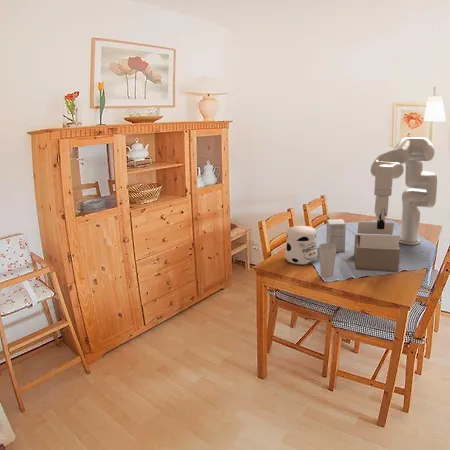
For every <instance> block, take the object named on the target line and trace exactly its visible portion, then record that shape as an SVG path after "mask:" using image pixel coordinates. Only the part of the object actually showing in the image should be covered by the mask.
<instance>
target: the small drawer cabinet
mask: <svg viewBox="0 0 450 450" xmlns="http://www.w3.org/2000/svg"><path fill="white" fill-rule="evenodd" d="M346 225H347V224H346V222H345V220H344V219H343V218H339V219H338V218H336V219H326V243H331V244H334V245H336V246H337V250H336V253H337V252H338V253H339V252H340V253H341V252H343V253H344V252H346V230H347V228H346Z"/></svg>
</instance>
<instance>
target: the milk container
mask: <svg viewBox="0 0 450 450" xmlns="http://www.w3.org/2000/svg"><path fill="white" fill-rule="evenodd" d="M318 252H319V251H318V248H317V231H316V229H315V228H314V227H312V226H308V225H296V226H295V225H294V226H291V227H288V228H287V229H286V247H285V249H284V257H285V259H286V261H287V262H288V263H289V264H293V265H296V266H306V265H312V264H313V263H315V262H316V261H317V259H318V254H319V253H318Z"/></svg>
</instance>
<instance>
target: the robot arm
mask: <svg viewBox="0 0 450 450" xmlns="http://www.w3.org/2000/svg"><path fill="white" fill-rule="evenodd" d="M434 157H435V147H434V145H433V143H432V142H431V141H430V140H429V139H428V138H426V137H413V136H412V137H410V136H409V137H404V138H402V139H400V141H398V143H397V144H396V146H395V147H394V148H393V149H392V150H389V151H386V152H384V153H382V154H379V155H378V156H377V157H376V158H375V159H374V160H373V162H372V164H371V166H370V174H371V176H373V177H374V191H373V193H374V194H373V195H374V196H375V204H374V214H375V215H374V216H376V217H377V220H376V222H377V229H384V225H385V222H386V221H385V220H386V217H387V216H388V212H389V201H390V200H389V199H390V198H389V197H390V196H392V194H393V180H394V179H398V178H399V179H400V177H402V175H403V173H404V170H405V174H404V175H405V177H404V179H405V181H404V182H405V186H406V187H407V188H409V189H405V190H404V191H402V194H401V201H402V202H401V203H402V213H401V225H400V234H399V236H400V240H399V243H400V244H403V245H410V246H411V245H412V246H414V245H419V244H421V239H420V238H419V230H420V221H421V212H420V209H419V207H421V208H429V209H430V208H433V207H434V206H435V205H436V202H437V188H438V177H437V175H436V173H435V172H432V171H431V172H430V171H424V170H423V167H424V165H423V162H429V161H431V160H433V158H434ZM403 164H404V165H405V169H404V166H403Z"/></svg>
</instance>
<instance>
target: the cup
mask: <svg viewBox="0 0 450 450" xmlns="http://www.w3.org/2000/svg"><path fill="white" fill-rule="evenodd" d="M318 250H319V251H318V252H319V253H318V254H319V269H320V276H321V277H323V278H329V279H330V278H333V276H334V272H335V263H336V256H337V252H336V250H337V246H336V245H334V244H331V243H327V242H324V243H320V244H319V245H318Z"/></svg>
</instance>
